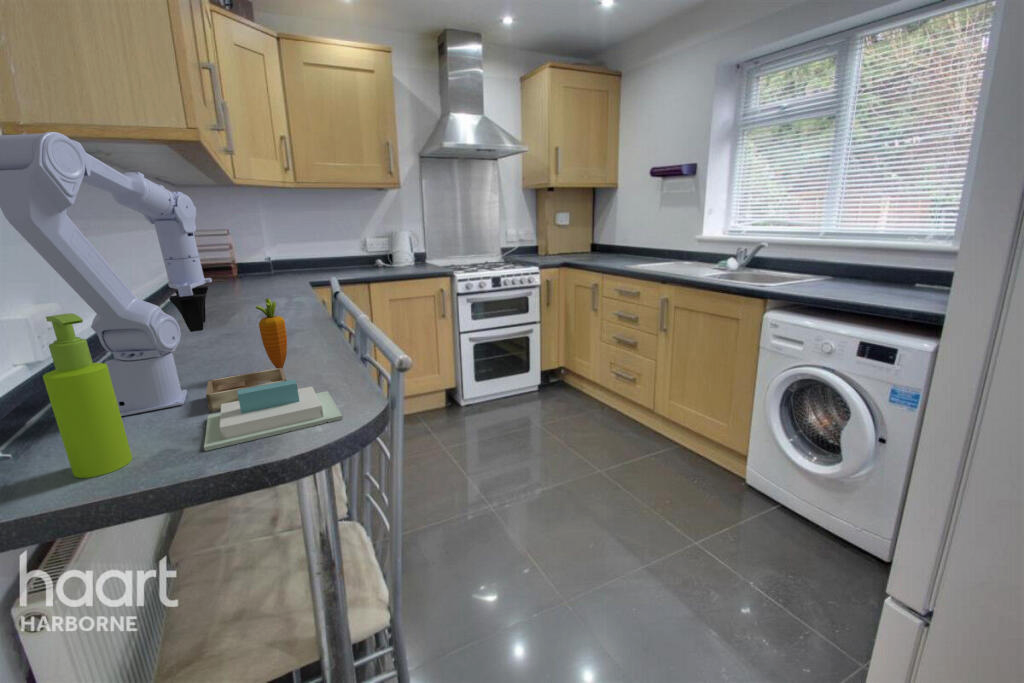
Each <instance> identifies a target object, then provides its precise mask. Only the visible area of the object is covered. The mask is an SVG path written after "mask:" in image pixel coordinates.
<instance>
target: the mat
mask: <svg viewBox="0 0 1024 683" xmlns="http://www.w3.org/2000/svg"><path fill="white" fill-rule="evenodd" d="M315 393H316V395H317V397H318V399H319V401H320V403H321V405H322V409H323V415H324V417H320V418H315V419H311V420H306V421H302V422H297V423H293V424H289V425H284V426H280V427H275V428H271V429H267V430H262V431H258V432H253V433H249V434H244V435H240V436H236V437H231V438H227V439H222V435H221V431H220V417H221V412H216V413H211V414H208V415H207V420H206V429H205V437H204V445H203V450H204V452H207V451H212V450H215V449H216V450H217V449H220V448H221V449H222V448H225V447H228V446H233V445H237V444H243V443H246V442H250V441H256V440H258V439H259V440H260V439H263V438H268V437H272V436H276V435H277V436H278V435H280V434H284V433H289V431H290V432H293V431H298V430H302V428H303V429H306V427H307V428H310V427H315V425H316V426H319V424H320V425H324V424H327V423H326V422H328V423H331V422H332V421H333V422H336V421H341V420H343V415H342V413H341V411H340V410H339V408H338V406H337V405H336V403H335V401H334V399H333V398H332V396H331V394H330V392H329V391H328V390H326V391H321V392H315ZM323 423H324V424H323Z"/></svg>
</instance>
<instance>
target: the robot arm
mask: <svg viewBox="0 0 1024 683" xmlns="http://www.w3.org/2000/svg"><path fill="white" fill-rule="evenodd" d="M82 183H84V184H86V185H90V186H92V187H94V188H97V189H100V190H102V191H106V192H108V193H111V195H112V198H113V199H114V201H116V203H118V204H119V205H121V206H123V207H126V208H129V209H131V210H134V211H135V212H138V213H140V214H142V215H143V216H144V218H145V220H146V221H147V222H148V223H150V224H151V225H153V224H154V227H155V231H156V235H157V236H156V237H157V241H158V243H159V248H160V252H161V256H162V259H163V264H164V268H165V271H166V272H165V273H166V275H167V279H168V283H167V285H168V287H169V288H172V289H175V291H174V293H175V294H176V295H170V296H169V298H168V299H169V301H170V302H171V304H172V305H173V306H175V308H176V309H177V311H178V312H179V313H180V315H181V316H182V319H183V321H184V322H185V323H184V324H185V325H186V327H187V329H188V331H189V332H191V333H192V332H201V331H203V330H204V326H205V325H204V323H206V320H207V319H206V318H207V317H206V314H207V313H206V300H207V299H206V297H207V293H208V290H209V286H208V285H205V284H208V283H212V281H213V280H212V278H211V277H207V278H205V275H204V270H203V266H202V263H201V262H202V261H201V259H200V254H199V249H198V245H197V242H196V241H197V240H196V238H195V232H196V231H197V230H196V229H197V226H196V217H197V207H196V206H195V205H194V202H193V200H192V199H191V198H190V197H189V196H188V195H187V194H185V193H183V192H182V191H170V190H169V189H167V188H165V186H163V185H162V184H160V183H159V184H157V183H156V182H153V181H151V180H149V179H148V178H145V174H143V173H141V172H140V171H130V172H128V171H127V172H123V173H121V172H120V171H118V170H117V169H115V168H114V167H112V166H110V165H108V164H106V163H104V162H102V161H101V160H99V159H98V158H96V157H94V156H92V155H91V154H89V153H88V152H86V150H85V148H84V146H83V145H82V144H81V143H80V142H79V141H76V140H74V139H70V138H69V137H68V136H67V135H65V134H62V133H60V132H57V131H47V132H43V133H27V134H26V133H24V134H21V133H20V134H7V135H6V134H4V135H3V134H0V211H1V212H2V214H3V216H4V217H5V219H6V220H7V222H8V223H9V224H10V226H12V227H13V228H14V229H15V231H17V232H18V233H19V235H21V237H22V238H24V239H25V240H24V241H26V242H27V243H28V244H29V245H30V246H31V247H32V248H33V249H34V250H35V251H36V252H37V253H38V254H39V256H41V258H43V259H44V261H45V262H46V263H47V264H48V265H49V266H50V267H51V268H52V269H53V270H54V271H55V272H56V274H58V275H59V276H60V277H61V278H62V279H63V280H64V281H65V282H66V283H67V285H69V286H70V287H71V289H73V291H74V292H76V294H77V295H78V296H79V297H80V298H81V299H82V300H83V301H84V302H85V303H86V304H87V306H89V307H90V308H91V310H93V312H94V313H96V315H95V316H94V317H93V320H92V322H91V325H90V328H91V329H92V330H93V331H94V332H95V333H96V335H97V336H98V339H99V342H100V344H101V345H102V347H103V349H104V350H105V351H106V352H108V353H110V354H113V358H114V359H110V360H106V361H105V362H104V363H105V364H107V367H108V370H109V374H110V378H111V381H112V385H113V389H114V392H115V396H116V400H117V403H118V407H119V411H120V414H121V417H123V416H130V415H135V414H140V413H145V412H151V411H156V410H162V409H166V408H172V407H177V406H181V405H184V403H185V401H186V396H187V394H188V390H187V389H182V388H181V384H180V383H181V382H180V379H179V375H178V370H177V366H176V362H175V358H174V354H173V352H174V351H177V347H178V345H179V343H180V341H181V333H182V331H181V328H180V325H179V323H178V321H177V320H176V319H175V317H173V316H172V315H169V314H167V313H165V311H163V309H161V308H160V306H158V305H157V304H154V303H151V302H147V301H145V300H142V299H140V298H138V297H136V295H135V294H134V293H133V292H132V290H131V289H129V287H128V286H127V285H126V284H125V282H124V281H123V280H122V279H121V278H120V277H119V275H118V274H117V273H116V272H115V271H114V269H113V268H112V267H111V266H110V265H109V263H108V262H107V261H106V260H105V259H104V257H103V256H102V255H101V254H100V253H99V252H98V250H97V249H96V248H95V247H94V245H93V244H92V243H91V242H90V241H89V240H88V238H86V236H85V235H84V234H83V233H82V231H81V230H80V229H79V228H78V227H77V225H76V224H75V223H74V222H73V221H72V220H71V218H70V217H69V216H68V214H67V210H68V208H70V207H71V206H72V205H74V203H75V201H76V199H77V195H78V193H79V190H80V187H81V185H82Z"/></svg>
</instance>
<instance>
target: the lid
mask: <svg viewBox="0 0 1024 683" xmlns="http://www.w3.org/2000/svg"><path fill="white" fill-rule="evenodd" d="M316 393H317V392H315V389H314V387H313V386H306V387H302V388H298V384H297V382H296V379H289V380H287V381H283V382H278V383H272V384H267V385H261V386H256V387H251V388H245V389H240V390H238V399H239V401H235V402H230V403H225V404H221V410H220V413H221V417H220V431H221V435H222V439H227V438H231V437H236V436H240V435H244V434H249V433H253V432H258V431H262V430H267V429H271V428H275V427H280V426H284V425H289V424H293V423H297V422H302V421H306V420H311V419H315V418H320V417H324V415H323V409H322V405H321V403H320V401H319V399H318V397H317V395H316Z"/></svg>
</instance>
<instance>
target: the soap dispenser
mask: <svg viewBox="0 0 1024 683" xmlns="http://www.w3.org/2000/svg"><path fill="white" fill-rule="evenodd" d="M45 319H46V322H50V323H51V324H52V328H53V331H54V335H55V337H56V340H54V341H53V342H52V343H49V345H48V347H49V352H50V354H51V358H52V362H53V365H54V369H53V370H51V371H48V372H46V373H44V374H43V375H42V378H43V382H44V386H45V389H46V392H47V395H48V398H49V402H50V404H51V407H52V408H51V409H52V411H53V415H54V418H55V421H56V424H57V427H58V431H59V433H60V434H59V435H60V437H61V440H62V442H63V446H64V449H65V452H66V456H67V459H68V462H69V465H70V468H71V472H72V475H73V477H75V478H79V479H90V478H94V477H95V478H96V477H100V476H103V475H107V474H110V473H113V472H114V471H115V472H116V471H117V470H120V469H123V468H124V467H125V466H127V465H129V464H130V463H131V462H132V460H133V455H132V452H131V447H130V445H129V440H128V438H127V433H126V429H125V426H124V421H123V419H122V416H121V414H120V411H119V407H118V403H117V400H116V396H115V392H114V389H113V385H112V381H111V378H110V374H109V370H108V367H107V364H105V362H104V363H103V362H93V359H92V354H91V352H90V348H89V345H88V344H89V343H88V341H87V339H85V338H81V337H77V336H76V332H75V330H74V326H73V325H75V324H76V325H77V324H81V323H83V321H84V319H83V318H82V317H80V315H77V314H76V313H63V314H62V313H61V314H54V315H48V316H45Z"/></svg>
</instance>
